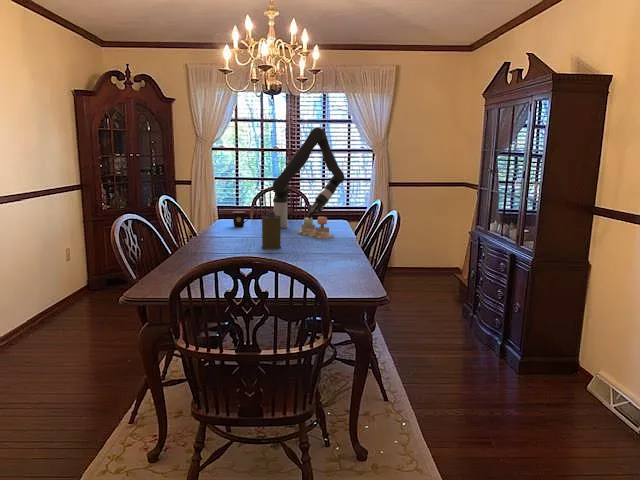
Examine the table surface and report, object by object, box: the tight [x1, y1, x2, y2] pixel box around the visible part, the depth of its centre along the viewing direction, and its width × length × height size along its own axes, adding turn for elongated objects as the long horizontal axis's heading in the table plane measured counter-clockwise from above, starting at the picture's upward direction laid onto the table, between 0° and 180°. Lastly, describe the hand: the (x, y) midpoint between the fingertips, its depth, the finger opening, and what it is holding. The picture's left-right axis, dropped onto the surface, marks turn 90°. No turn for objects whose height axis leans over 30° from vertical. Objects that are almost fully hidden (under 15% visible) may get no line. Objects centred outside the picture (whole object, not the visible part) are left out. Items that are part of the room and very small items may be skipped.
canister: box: [261, 210, 282, 250], centre depth 286 cm, size 11×10×20 cm
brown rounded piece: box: [317, 216, 328, 228], centre depth 320 cm, size 6×6×7 cm
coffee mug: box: [232, 210, 252, 228], centre depth 355 cm, size 12×9×10 cm
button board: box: [296, 223, 334, 240], centre depth 326 cm, size 24×10×6 cm, turn 39°
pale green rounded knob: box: [303, 217, 314, 225], centre depth 331 cm, size 6×6×7 cm
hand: (308, 217), depth 330 cm, fingers closed
